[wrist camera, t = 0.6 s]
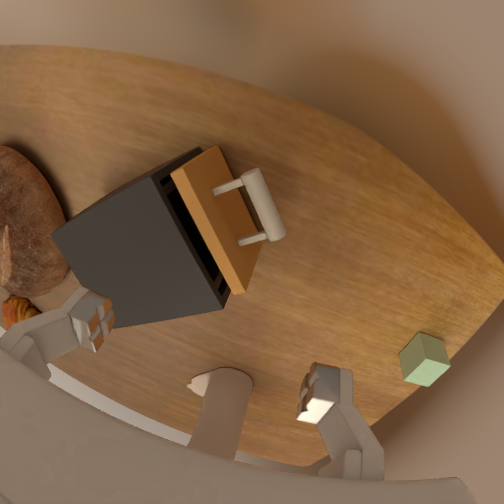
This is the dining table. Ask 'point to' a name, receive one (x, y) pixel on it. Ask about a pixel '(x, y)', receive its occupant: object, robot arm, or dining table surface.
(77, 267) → the cabinet
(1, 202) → the bread
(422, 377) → the block
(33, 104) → the dining table surface
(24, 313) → the croissant
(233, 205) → the drawer
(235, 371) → the candle
